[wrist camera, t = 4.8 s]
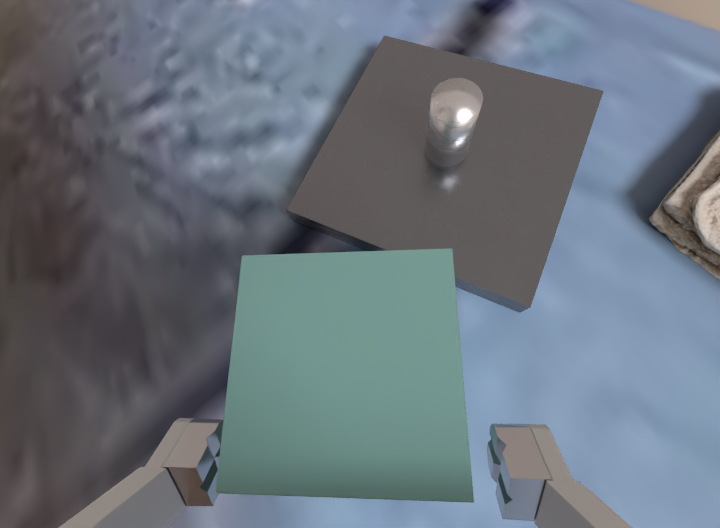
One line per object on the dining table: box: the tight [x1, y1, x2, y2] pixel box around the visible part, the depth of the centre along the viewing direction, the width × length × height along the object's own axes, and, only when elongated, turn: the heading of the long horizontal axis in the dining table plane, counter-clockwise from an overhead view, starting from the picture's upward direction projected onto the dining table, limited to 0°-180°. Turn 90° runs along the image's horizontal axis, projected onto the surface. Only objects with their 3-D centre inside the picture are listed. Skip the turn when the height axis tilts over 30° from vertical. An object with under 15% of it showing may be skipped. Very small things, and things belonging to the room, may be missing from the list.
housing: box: [215, 248, 474, 502], centre depth 14 cm, size 6×6×10 cm
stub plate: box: [286, 36, 603, 312], centre depth 19 cm, size 14×14×6 cm
